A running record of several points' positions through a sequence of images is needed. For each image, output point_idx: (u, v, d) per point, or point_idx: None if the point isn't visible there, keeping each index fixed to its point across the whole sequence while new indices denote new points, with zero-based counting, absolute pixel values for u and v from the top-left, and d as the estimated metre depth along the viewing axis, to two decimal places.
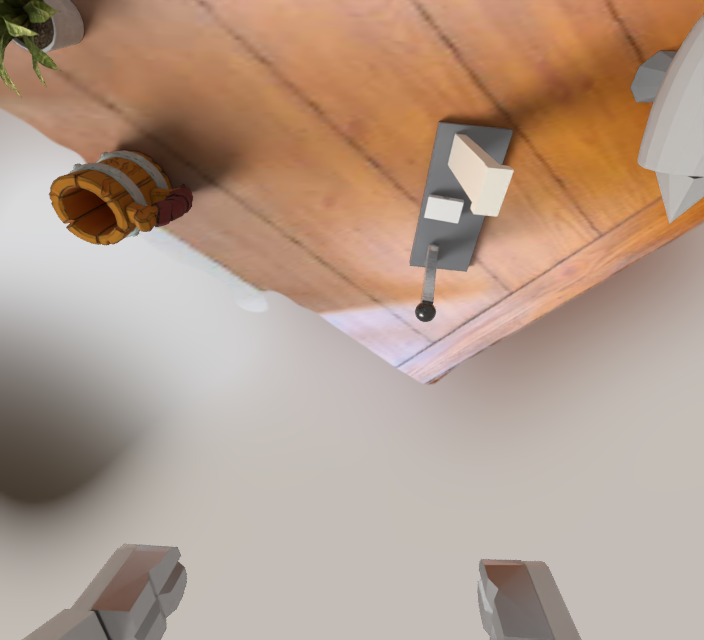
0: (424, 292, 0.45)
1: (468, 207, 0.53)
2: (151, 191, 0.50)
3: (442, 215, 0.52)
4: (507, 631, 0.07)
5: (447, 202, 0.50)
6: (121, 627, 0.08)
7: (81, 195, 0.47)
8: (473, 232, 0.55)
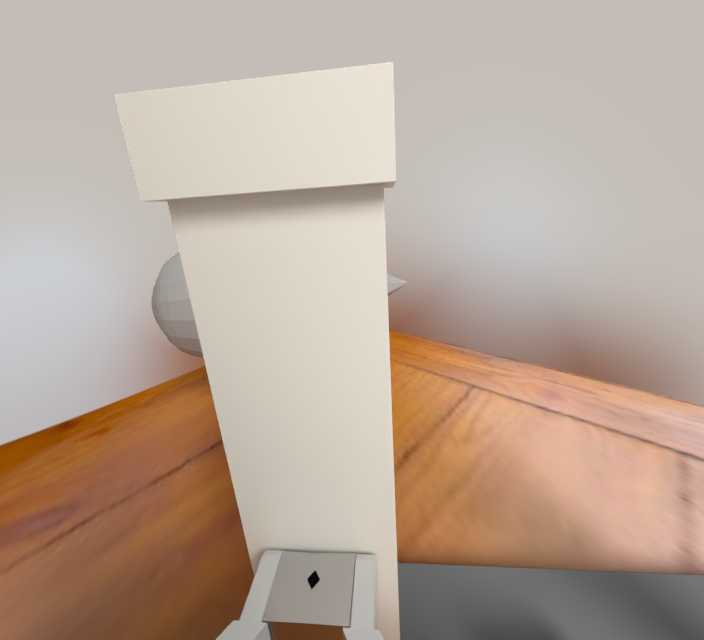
0: None
1: (542, 639, 0.14)
2: None
3: None
4: (309, 619, 0.07)
5: None
6: (291, 639, 0.07)
7: None
8: (612, 591, 0.16)
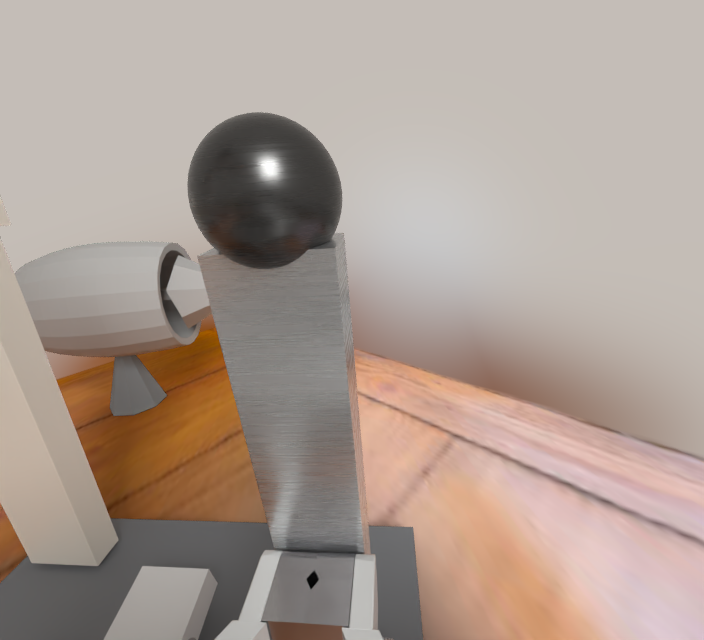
0: None
1: None
2: None
3: None
4: (308, 618, 0.07)
5: (116, 631, 0.14)
6: (290, 639, 0.07)
7: None
8: None
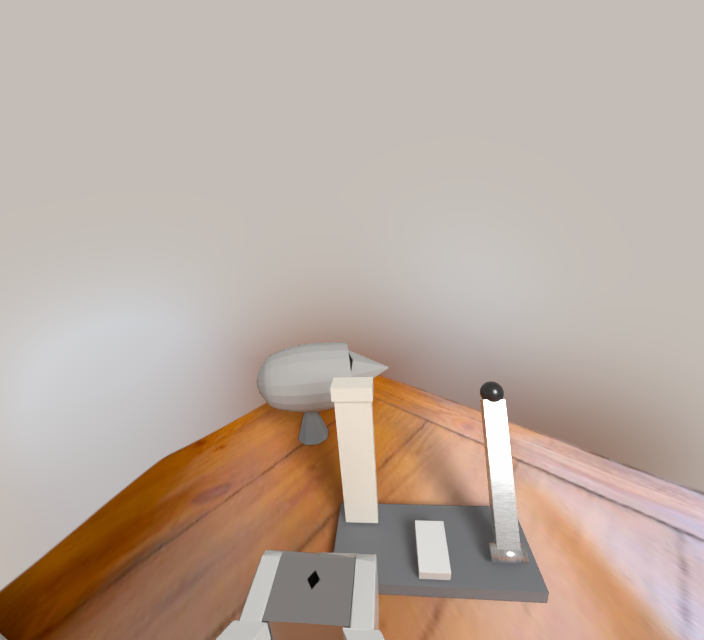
0: (484, 416, 0.39)
1: None
2: None
3: (438, 544, 0.37)
4: (309, 618, 0.07)
5: (420, 541, 0.37)
6: (291, 639, 0.07)
7: None
8: (456, 511, 0.43)
